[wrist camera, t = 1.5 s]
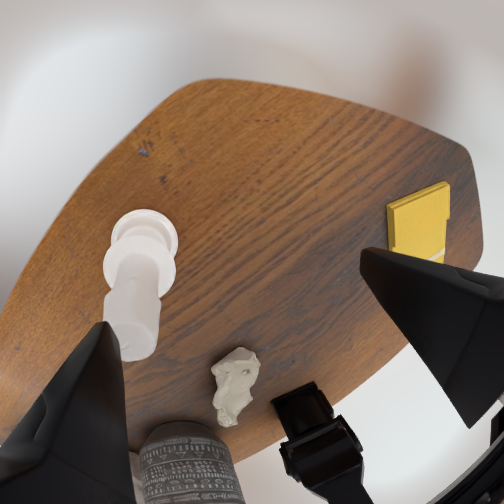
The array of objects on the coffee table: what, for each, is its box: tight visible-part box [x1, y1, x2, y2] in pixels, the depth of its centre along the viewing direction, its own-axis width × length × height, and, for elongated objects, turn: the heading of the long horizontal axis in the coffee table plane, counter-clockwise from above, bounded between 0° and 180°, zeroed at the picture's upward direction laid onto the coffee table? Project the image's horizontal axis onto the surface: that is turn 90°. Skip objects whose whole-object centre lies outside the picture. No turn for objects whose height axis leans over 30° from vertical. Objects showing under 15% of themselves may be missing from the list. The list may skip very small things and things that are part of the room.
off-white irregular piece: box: [211, 347, 261, 427], centre depth 27 cm, size 6×10×4 cm, turn 177°
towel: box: [386, 181, 450, 264], centre depth 28 cm, size 10×12×1 cm
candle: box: [102, 209, 178, 362], centre depth 15 cm, size 5×5×12 cm
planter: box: [139, 421, 246, 504], centre depth 26 cm, size 12×12×13 cm
